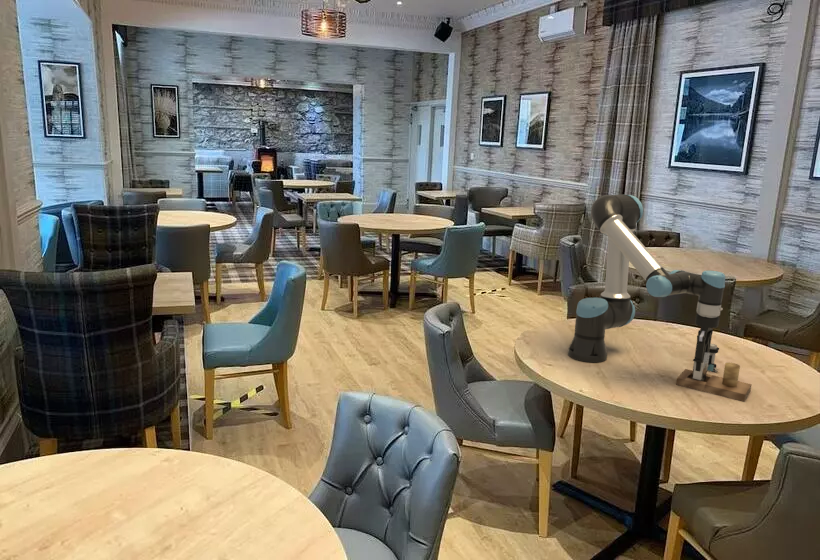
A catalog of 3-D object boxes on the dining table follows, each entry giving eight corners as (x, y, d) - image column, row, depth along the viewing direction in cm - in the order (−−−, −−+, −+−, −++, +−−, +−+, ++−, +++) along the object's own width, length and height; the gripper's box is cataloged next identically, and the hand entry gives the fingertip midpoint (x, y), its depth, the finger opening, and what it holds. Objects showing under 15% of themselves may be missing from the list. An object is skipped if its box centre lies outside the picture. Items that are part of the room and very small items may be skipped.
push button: (722, 372, 230) (725, 347, 228) (712, 373, 228) (716, 349, 226) (707, 366, 236) (710, 342, 234) (697, 367, 234) (701, 343, 232)
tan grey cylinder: (690, 378, 216) (694, 352, 214) (693, 375, 220) (697, 349, 218) (704, 381, 214) (708, 355, 212) (707, 378, 217) (711, 352, 215)
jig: (676, 384, 216) (679, 358, 214) (684, 375, 226) (688, 350, 223) (744, 401, 203) (748, 373, 201) (750, 391, 212) (754, 364, 210)
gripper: (714, 322, 203) (704, 386, 208) (724, 311, 216) (715, 372, 221) (690, 317, 207) (681, 381, 212) (702, 308, 221) (693, 367, 226)
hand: (698, 376), depth 217 cm, fingers closed on tan grey cylinder, 4 cm apart
